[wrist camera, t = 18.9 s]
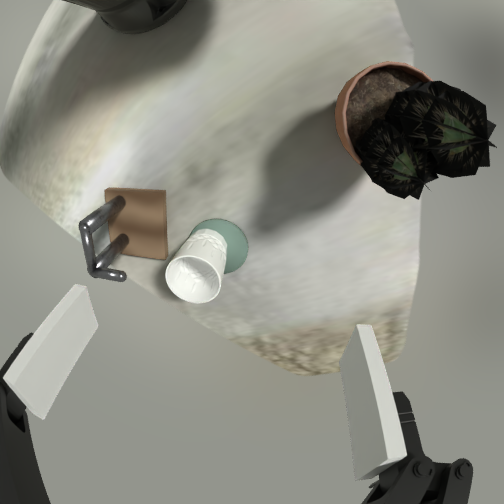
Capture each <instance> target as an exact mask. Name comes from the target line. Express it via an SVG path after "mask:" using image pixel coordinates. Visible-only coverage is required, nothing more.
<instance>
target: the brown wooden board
mask: <svg viewBox="0 0 504 504" xmlns="http://www.w3.org/2000/svg"><path fill="white" fill-rule="evenodd" d="M118 195H120V196H122V197H124V199H125V201H126V205H125V207H124V208H123V209H122V210H120V211H119V212H118V213H116V214H115V215H114V216H113V217H111V218H110V219H109V220H108V228H109V235H110V242H112V241H113V240H114V239H115V238H116V237H117V236H118V235H119V234H121V233H123V234H126V235H127V236H128V238H129V244H128V245H127V246H126V247H125V248H124V249H123V251H122V252H121V253H120V254H127V255H134V256H141V257H148V258H155V259H162V260H166V258H167V257H168V242H167V219H166V190H150V189H131V188H107V189H106V190H105V201H106V203H107V202H108V201H110V200H111V199H113V198H114V197H116V196H118Z"/></svg>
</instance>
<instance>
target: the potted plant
mask: <svg viewBox="0 0 504 504" xmlns="http://www.w3.org/2000/svg"><path fill="white" fill-rule="evenodd" d="M335 121H336V130H337V132H338V135H339V137H340V140H341V142H342V144H343V146H344V148H345V149H346V150H347V151H348V153H349V154H350V155H351V156H352V158H353V159H354V160H355V161H356V162H357V163H358V164H359V165H361V166H362V167H363V169H364V170H365V171H366V173H367V174H368V175H369V177H370V178H371V180H372V182H374V183H375V184H377V185H379V186H381V187H382V188H384V189H385V191H386V192H387V193H389V194H392V195H395V196H398V197H400V198H403V199H405V198H406V197H408V196H409V195H411V196H412V197H414V198H416V199H418V200H419V198H420V195H421V192H422V189H423V187H424V184H426V183H428V182H430V181H432V180H434V179H437V178H438V176H437V174H440V175H444V176H448V177H451V178H454V177H461V176H469V175H475V174H476V172H477V170H478V167H484V166H485V167H489V166H490V160H489V146H493V147H496V146H495V145H494V144H492V143H491V142H490V141H489V140H488V139H489V137H490V136H491V134H492V132H493V130H494V128H495V127H496V125H495V124H493V123H492V122H490V121H488V120H487V113H486V105H484V104H483V103H481V102H480V101H478V100H476V99H475V98H474V97H472V96H470V95H469V94H467V93H466V92H464V91H461V90H460V89H458V88H455V87H452V86H449V85H447V84H446V83H443V82H442V81H433V80H432V79H431V78H430V77H428V76H427V75H426V74H425V73H424V72H423V71H421V70H419V69H417V68H415V67H413V66H411V65H408V64H406V63H399V62H390V61H387V62H383V63H379V64H375V65H372V66H369V67H368V68H366V69H364V70H363V71H361V72H359V73H358V74H357V75H355V76H354V77H353V78H351V79H350V80H349V81H348V82H346V84H345V85H344V87H343V89H342V90H341V92H340V94H339V95H338V99H337V104H336V108H335ZM496 148H497V147H496ZM436 173H437V174H436ZM426 187H427V186H426Z"/></svg>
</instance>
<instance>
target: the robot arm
mask: <svg viewBox="0 0 504 504" xmlns="http://www.w3.org/2000/svg"><path fill="white" fill-rule="evenodd" d="M63 1H67V2H70V3H74V4H77V5H80V6H83V7H87V8H90V9H92V10H95V11H96V12H97V13H98V14H99V15H100V16H101V18H102V20H103V22H104V23H105V24H106V25H107V26H109V27H110V28H112V29H114V30H117V31H119V32H122V33H127V34H137V33H142V32H146V31H149V30H152V29H154V28H156V27H159V26H160V25H162V24H164V23H165V22H167V21H168V20H170V19H171V18H172V17H173V16H174V15H175V14H177V13H178V12H179V10H180V9H181V8H182V7H183V6H184V4H185V3H186V1H187V0H63ZM97 328H98V323H97V320H96V317H95V314H94V311H93V307H92V304H91V301H90V298H89V294H88V290H87V287H86V286H82V285H77V284H75V285H74V286H73V287H72V288H71V289H70V291H69V292H68V293H67V294H66V295H65V296H64V298H63V299H62V300H61V301H60V302H59V303H58V305H57V306H56V307H55V308H54V309H53V311H52V312H51V313H50V314H49V315H48V317H47V318H46V319H45V320H44V322H43V323H42V324H41V326H40V327H39V328H38V329H37V331H36V332H35V333H34V334H33V333H30V334H29V335H27V336H26V337H24V338H23V339H22V341H21V342H20V343H19V345H18V347H17V348H16V349H15V350H14V352H13V353H12V354H11V356H10V357H9V358H8V360H7V361H6V363H5V364H4V366H3V367H2V369H1V370H0V504H51V503H50V501H49V498H48V495H47V493H46V489H45V487H44V484H43V481H42V477H41V474H40V471H39V467H38V464H37V460H36V456H35V452H34V448H33V443H32V439H31V434H30V429H29V423H28V417H27V413H26V411H25V409H26V407H27V408H28V409H29V410H30V411H31V412H32V413H33V414H34V415H36V416H38V417H39V418H41V419H43V420H44V419H45V417H46V415H47V413H48V411H49V409H50V407H51V405H52V404H53V402H54V400H55V398H56V396H57V394H58V393H59V391H60V389H61V387H62V385H63V384H64V382H65V380H66V378H67V377H68V375H69V373H70V371H71V370H72V368H73V366H74V364H75V363H76V361H77V360H78V358H79V356H80V355H81V353H82V351H83V350H84V348H85V347H86V345H87V343H88V342H89V340H90V339H91V337H92V336H93V334H94V333H95V331H96V329H97ZM339 365H340V370H341V376H342V382H343V388H344V395H345V401H346V408H347V415H348V422H349V430H350V437H351V446H352V455H353V465H354V476H355V481H357V480H365V479H371V478H373V477H375V476H377V475H378V474H379V480H378V481H376V482H374V483H373V484H372V485H370V486H369V488H372V487H373V489H372V490H371V492H370V493H369V494H368V496H367V497H366V498H365V500H364V501H363V502H362V504H467V503H468V498H469V493H470V488H471V483H472V477H473V467H472V464H471V463H470V462H469V461H468V460H467V459H464V458H463V459H458V460H457V461H455V462H453V463H452V464H451V463H436V462H432V460H431V459H430V458H429V457H427V456H425V454H424V452H423V450H422V446H421V442H420V437H419V434H418V430H417V426H416V422H415V421H414V420H415V418H414V415H413V413H412V408H411V405H410V401H409V399H408V398H407V397H406V395H405V394H404V393H403V392H392V390H391V387H390V383H389V379H388V376H387V373H386V369H385V366H384V363H383V360H382V356H381V353H380V350H379V347H378V344H377V341H376V338H375V335H374V332H373V329H372V326H371V325H361V324H356V326H355V329H354V331H353V333H352V336H351V338H350V340H349V342H348V344H347V346H346V349H345V351H344V353H343V355H342V357H341V359H340V361H339Z"/></svg>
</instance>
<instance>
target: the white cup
mask: <svg viewBox="0 0 504 504" xmlns="http://www.w3.org/2000/svg"><path fill="white" fill-rule="evenodd" d="M226 256H227V243H226V241H225V239H224V237H223V236H222V235H220V234H219V233H218V232H217V231H214V230H211V229H200V230H197V231H196V232H194V233H193V234H192V235H191V236H190V237H189V239H188V240H187V241H186V242H185V243H184V244H183V246H182V247H181V248H180V249H179V251H178V252H177V253H176V255H175V256H174V258H173V259H172V260H171V262H170V263H169V264H168V266H167V268H166V272H165V278H166V282H167V284H168V286H169V288H170V290H171V291H172V292H173V293H174V294H175V295H176V296H178V297H179V298H181V299H182V300H185V301H187V302H191V303H205V302H208V301H211V300H212V299H214V298H215V297H216V296H217V295H218V293H219V291H220V288H221V283H222V279H223V274H224V269H225V264H226Z"/></svg>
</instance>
